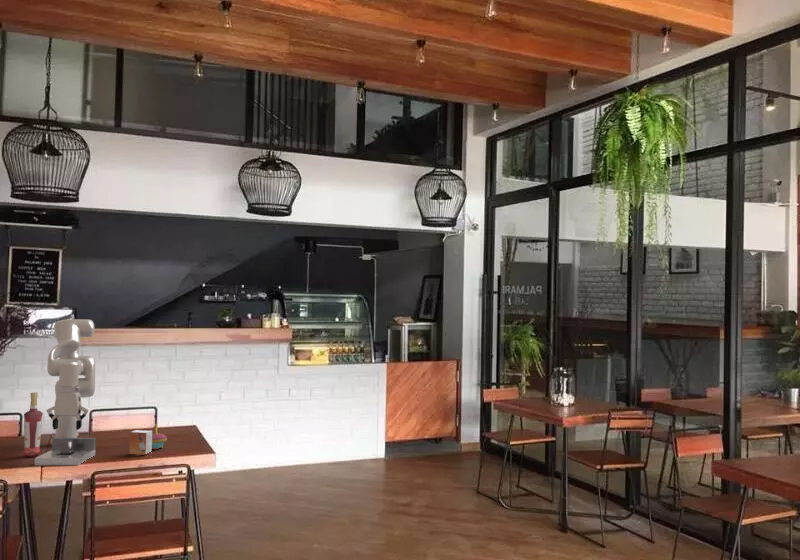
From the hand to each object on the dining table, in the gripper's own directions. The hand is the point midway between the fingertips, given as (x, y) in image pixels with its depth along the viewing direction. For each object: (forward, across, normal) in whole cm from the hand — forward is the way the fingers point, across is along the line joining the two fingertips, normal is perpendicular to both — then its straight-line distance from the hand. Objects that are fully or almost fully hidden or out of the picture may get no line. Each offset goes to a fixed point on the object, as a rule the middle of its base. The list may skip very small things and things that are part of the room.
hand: (66, 429), depth 292 cm
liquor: (+14, +18, -7) cm, 24 cm away
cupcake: (+14, -32, -23) cm, 42 cm away
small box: (+14, -28, -11) cm, 33 cm away
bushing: (+14, 0, +1) cm, 14 cm away
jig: (+13, 0, +1) cm, 13 cm away
